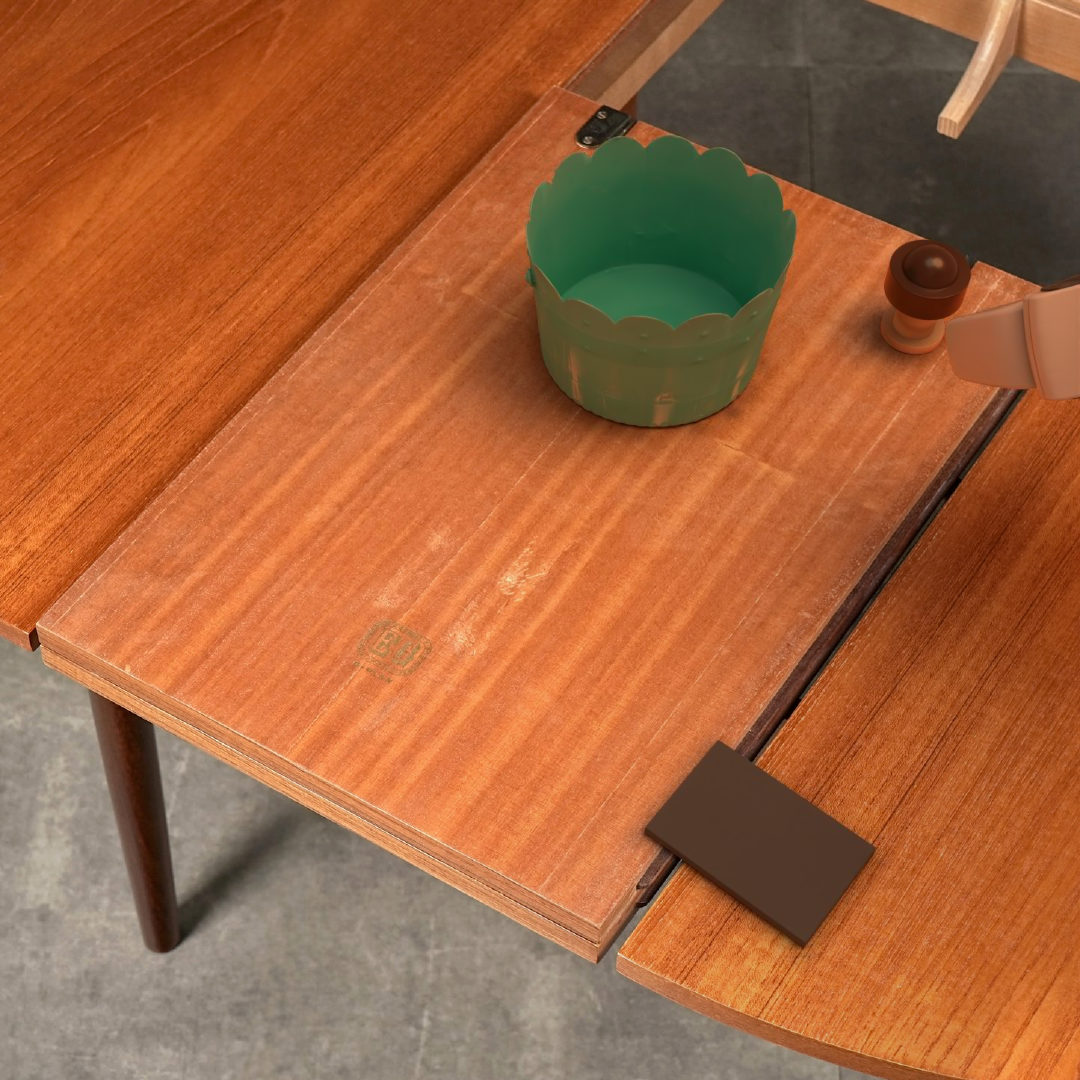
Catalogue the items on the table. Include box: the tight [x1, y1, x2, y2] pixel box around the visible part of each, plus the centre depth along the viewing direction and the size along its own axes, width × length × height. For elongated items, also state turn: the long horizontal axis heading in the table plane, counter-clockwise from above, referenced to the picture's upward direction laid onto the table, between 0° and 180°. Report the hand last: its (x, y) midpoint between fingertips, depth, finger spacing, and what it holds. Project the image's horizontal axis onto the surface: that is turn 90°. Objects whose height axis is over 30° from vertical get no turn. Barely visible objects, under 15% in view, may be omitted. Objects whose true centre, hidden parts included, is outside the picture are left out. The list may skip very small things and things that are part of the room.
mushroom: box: [880, 239, 972, 355], centre depth 128 cm, size 6×6×8 cm
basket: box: [524, 134, 798, 428], centre depth 124 cm, size 19×18×13 cm
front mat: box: [644, 739, 877, 948], centre depth 106 cm, size 12×8×1 cm, turn 52°
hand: (1041, 309), depth 112 cm, fingers open, 8 cm apart
